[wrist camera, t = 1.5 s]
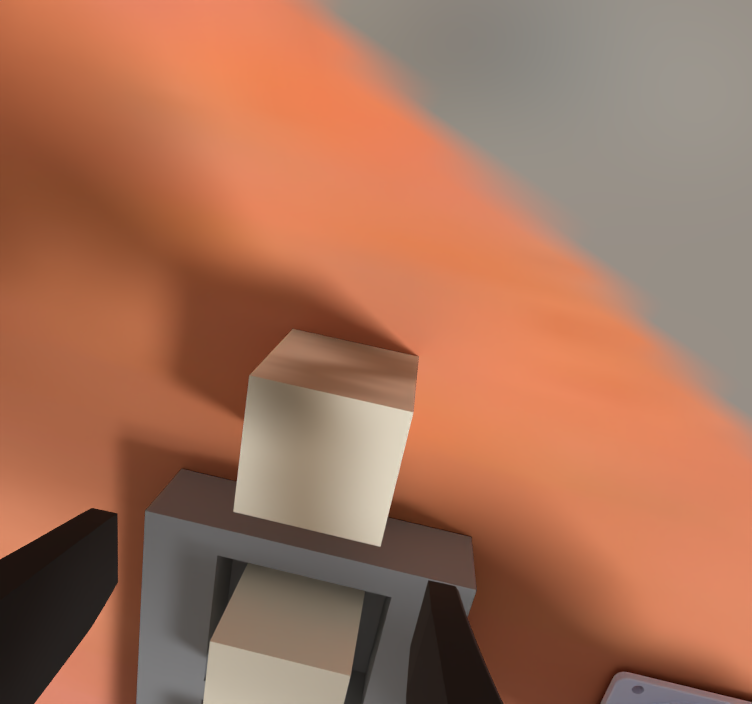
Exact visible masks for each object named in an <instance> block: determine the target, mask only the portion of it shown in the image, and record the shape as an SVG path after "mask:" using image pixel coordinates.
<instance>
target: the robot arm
mask: <svg viewBox="0 0 752 704" xmlns="http://www.w3.org/2000/svg"><path fill="white" fill-rule="evenodd" d="M117 583H118V522H117V513H112V512H108V511H103V510H98V509H94V508H91V509H89V510H87V511H85V512H84V513H82V514H80V515H78V516H76V517H75V518H73V519H71V520H69V521H68V522H66V523H64V524H62V525H61V526H59V527H57V528H55V529H54V530H52V531H50V532H48V533H47V534H45V535H43V536H41V537H40V538H38V539H36V540H34V541H33V542H31V543H29V544H27V545H25V546H24V547H22V548H20V549H18V550H16V551H15V552H13V553H11V554H9V555H7V556H6V557H4V558H2V559H0V704H34V703H35V702H36V700H37V699H38V698H39V696H40V695H41V694H42V693H43V691H44V690H45V689H46V687H47V686H48V685H49V683H50V682H51V681H52V679H53V678H54V677H55V675H56V674H57V673H58V671H59V670H60V669H61V667H62V666H63V665H64V663H65V662H66V661H67V659H68V658H69V657H70V655H71V654H72V653H73V651H74V650H75V649H76V647H77V646H78V645H79V643H80V642H81V641H82V639H83V638H84V637H85V635H86V634H87V632H88V631H89V630H90V628H91V627H92V625H93V624H94V622H95V620H96V619H97V617H98V615H99V614H100V612H101V611H102V609H103V607H104V606H105V604H106V602H107V600H108V599H109V597H110V595H111V593H112V592H113V590H114V588H115V586H116V585H117ZM406 704H503V702H502V700H501V698H500V695H499V693H498V691H497V689H496V687H495V684H494V682H493V680H492V678H491V675H490V673H489V671H488V668H487V666H486V664H485V661H484V659H483V657H482V654H481V652H480V649H479V647H478V644H477V642H476V639H475V637H474V634H473V631H472V629H471V626H470V623H469V621H468V618H467V615H466V612H465V609H464V606H463V603H462V600H461V597H460V593H459V591H458V589H457V588H456V586H453V585H448V584H444V583H439V582H434V581H430V580H428V583H427V587H426V591H425V594H424V598H423V601H422V605H421V609H420V612H419V616H418V620H417V623H416V627H415V631H414V634H413V638H412V641H411V645H410V654H409V665H408V677H407V690H406ZM600 704H752V702H749V701H745V700H741V699H736V698H732V697H728V696H724V695H720V694H716V693H712V692H708V691H704V690H700V689H695V688H691V687H687V686H683V685H679V684H675V683H671V682H667V681H663V680H658V679H654V678H650V677H646V676H642V675H638V674H634V673H630V672H619V673H617V674H616V675H615V676H614V677H613V679H612V681H611V683H610V685H609V687H608V689H607V691H606V693H605V695H604V697H603V699H602V701H601V703H600Z"/></svg>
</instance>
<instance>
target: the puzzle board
mask: <svg viewBox="0 0 752 704" xmlns="http://www.w3.org/2000/svg"><path fill="white" fill-rule="evenodd" d="M236 484H237V482H236V481H232V480H227V479H223V478H219V477H215V476H210V475H206V474H202V473H198V472H194V471H189V470H185V469H181V470H180V471H179V472H178V473H177V475H176V476H175V477H174V478H173V479H172V480H171V481H170V483H169V484H168V485H167V486H166V487H165V488H164V490H163V491H162V492H161V493H160V494H159V495H158V496H157V498H156V499H155V500H154V501H153V502H152V503H151V504H150V506H149V507H148V508H147V509H146V510H145V525H144V547H143V569H142V590H141V612H140V634H139V656H138V678H137V699H136V704H406V690H407V677H408V665H409V654H410V645H411V641H412V638H413V634H414V631H415V627H416V623H417V620H418V616H419V612H420V609H421V605H422V601H423V598H424V594H425V591H426V587H427V583H428V580H430V581H434V582H439V583H444V584H448V585H453V586H456V588H457V589H458V591H459V593H460V597H461V600H462V603H463V606H464V609H465V612H466V615H467V617H468V614H469V611H470V608H471V605H472V602H473V599H474V596H475V594H476V591H477V589H476V578H475V568H474V558H473V548H472V538H471V537H469V536H465V535H461V534H457V533H452V532H448V531H444V530H440V529H435V528H431V527H427V526H423V525H418V524H414V523H410V522H406V521H401V520H397V519H393V518H389V517H388V518H387V522H386V526H385V530H384V534H383V539H382V543H381V547H379V546H375V545H371V544H367V543H363V542H358V541H354V540H350V539H346V538H342V537H337V536H333V535H329V534H325V533H321V532H316V531H312V530H308V529H304V528H300V527H295V526H291V525H287V524H283V523H279V522H274V521H270V520H266V519H262V518H258V517H253V516H249V515H245V514H241V513H237V512H233V510H234V501H235V493H236Z"/></svg>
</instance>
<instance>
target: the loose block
mask: <svg viewBox="0 0 752 704" xmlns="http://www.w3.org/2000/svg"><path fill="white" fill-rule="evenodd" d="M418 360H419V356H414V355H410V354H405V353H401V352H396V351H392V350H387V349H382V348H378V347H373V346H369V345H364V344H360V343H355V342H351V341H346V340H342V339H337V338H333V337H328V336H324V335H319V334H315V333H310V332H306V331H301V330H297V329H292V330H291V331H290V332H289V333H288V334H287V335H286V337H285V338H284V339H283V340H282V341H281V342H280V343H279V344H278V345H277V346H276V347H275V348H274V349H273V350H272V351H271V353H270V354H269V355H268V356H267V357H266V358H265V359H264V360H263V361H262V362H261V363H260V364H259V365H258V366H257V367H256V369H255V370H254V371H253V372H252V373H251V374H250V375H249V382H248V390H247V399H246V407H245V416H244V424H243V433H242V442H241V450H240V459H239V467H238V476H237V484H236V493H235V501H234V510H233V512H237V513H241V514H245V515H249V516H253V517H258V518H262V519H266V520H270V521H274V522H279V523H283V524H287V525H291V526H295V527H300V528H304V529H308V530H312V531H316V532H321V533H325V534H329V535H333V536H337V537H342V538H346V539H350V540H354V541H358V542H363V543H367V544H371V545H375V546H379V547H381V543H382V539H383V534H384V530H385V526H386V522H387V518H388V514H389V510H390V506H391V502H392V498H393V494H394V490H395V485H396V481H397V477H398V473H399V469H400V465H401V461H402V457H403V453H404V449H405V445H406V441H407V436H408V432H409V428H410V424H411V420H412V416H413V411H414V401H415V391H416V380H417V370H418Z"/></svg>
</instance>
